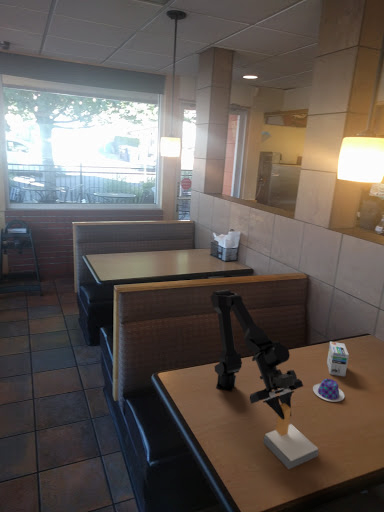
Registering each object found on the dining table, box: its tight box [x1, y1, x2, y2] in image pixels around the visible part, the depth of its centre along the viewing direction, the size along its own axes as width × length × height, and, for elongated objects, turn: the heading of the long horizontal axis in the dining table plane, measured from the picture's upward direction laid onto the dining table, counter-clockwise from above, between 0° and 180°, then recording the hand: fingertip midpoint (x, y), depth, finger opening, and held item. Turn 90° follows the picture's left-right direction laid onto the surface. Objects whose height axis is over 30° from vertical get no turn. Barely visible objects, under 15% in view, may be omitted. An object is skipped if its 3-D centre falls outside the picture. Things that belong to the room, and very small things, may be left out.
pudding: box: [312, 378, 345, 403], centre depth 152 cm, size 12×12×5 cm
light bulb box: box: [326, 341, 350, 378], centre depth 168 cm, size 11×7×11 cm, turn 168°
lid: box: [265, 403, 319, 461], centre depth 120 cm, size 12×11×10 cm
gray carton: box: [262, 435, 319, 470], centre depth 122 cm, size 12×12×2 cm
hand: (286, 417), depth 122 cm, fingers closed on lid, 2 cm apart
